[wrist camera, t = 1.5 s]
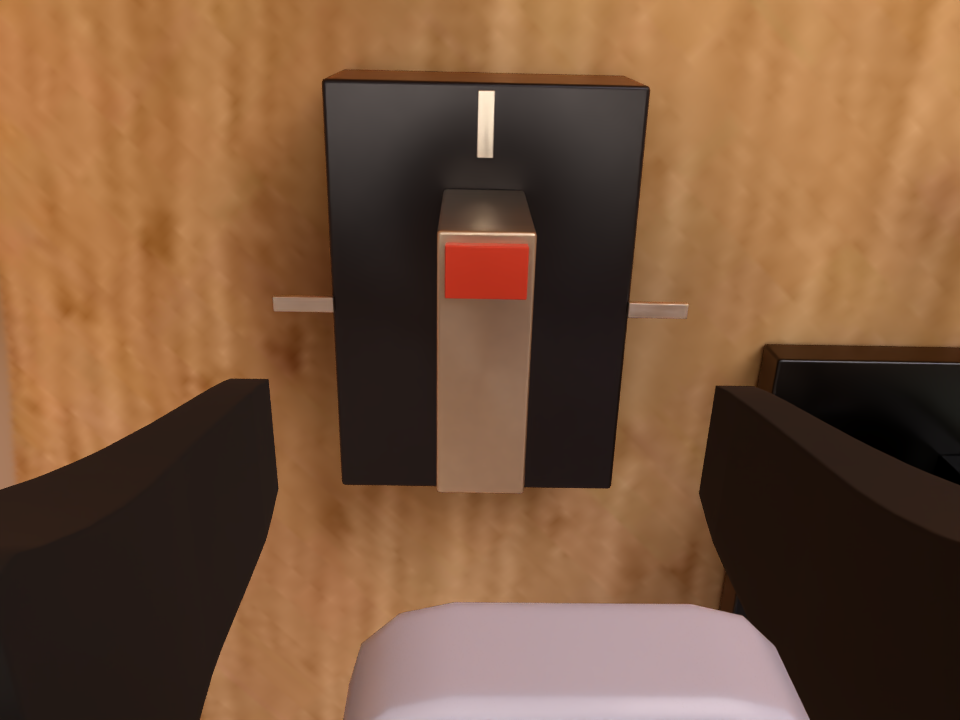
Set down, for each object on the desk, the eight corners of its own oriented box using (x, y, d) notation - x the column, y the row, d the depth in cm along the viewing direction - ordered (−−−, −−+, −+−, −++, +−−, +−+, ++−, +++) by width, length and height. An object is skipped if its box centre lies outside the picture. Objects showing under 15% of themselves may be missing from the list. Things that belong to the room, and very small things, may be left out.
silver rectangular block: (515, 411, 20) (524, 501, 17) (442, 410, 20) (436, 500, 17) (525, 190, 18) (538, 236, 14) (443, 188, 18) (436, 234, 14)
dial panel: (641, 435, 24) (664, 494, 21) (310, 430, 24) (287, 488, 21) (681, 76, 20) (716, 88, 17) (285, 67, 20) (254, 77, 17)
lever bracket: (763, 343, 23) (896, 493, 16) (1010, 347, 23) (1252, 498, 16) (715, 625, 27) (804, 849, 20) (926, 628, 27) (1090, 850, 20)
